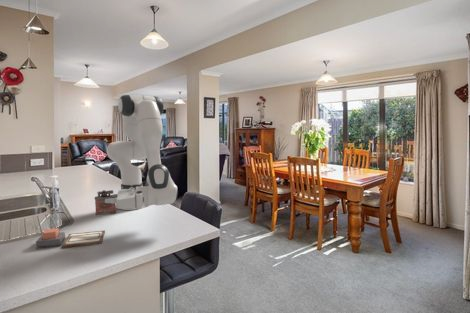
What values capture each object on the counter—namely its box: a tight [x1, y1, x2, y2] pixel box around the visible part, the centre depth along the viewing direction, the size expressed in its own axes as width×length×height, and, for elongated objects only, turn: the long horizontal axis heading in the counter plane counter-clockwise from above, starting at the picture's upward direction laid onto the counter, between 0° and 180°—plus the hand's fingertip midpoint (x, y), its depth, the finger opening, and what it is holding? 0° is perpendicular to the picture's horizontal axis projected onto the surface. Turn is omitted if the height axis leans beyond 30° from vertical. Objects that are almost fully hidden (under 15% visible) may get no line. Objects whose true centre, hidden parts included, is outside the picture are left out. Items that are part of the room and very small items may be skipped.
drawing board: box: [61, 230, 106, 249], centre depth 117 cm, size 13×14×1 cm
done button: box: [42, 227, 60, 239], centre depth 113 cm, size 4×4×3 cm
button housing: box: [35, 231, 66, 250], centre depth 113 cm, size 8×8×3 cm
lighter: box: [94, 189, 117, 216], centre depth 118 cm, size 8×3×10 cm, turn 106°
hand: (105, 199), depth 118 cm, fingers closed on lighter, 3 cm apart
